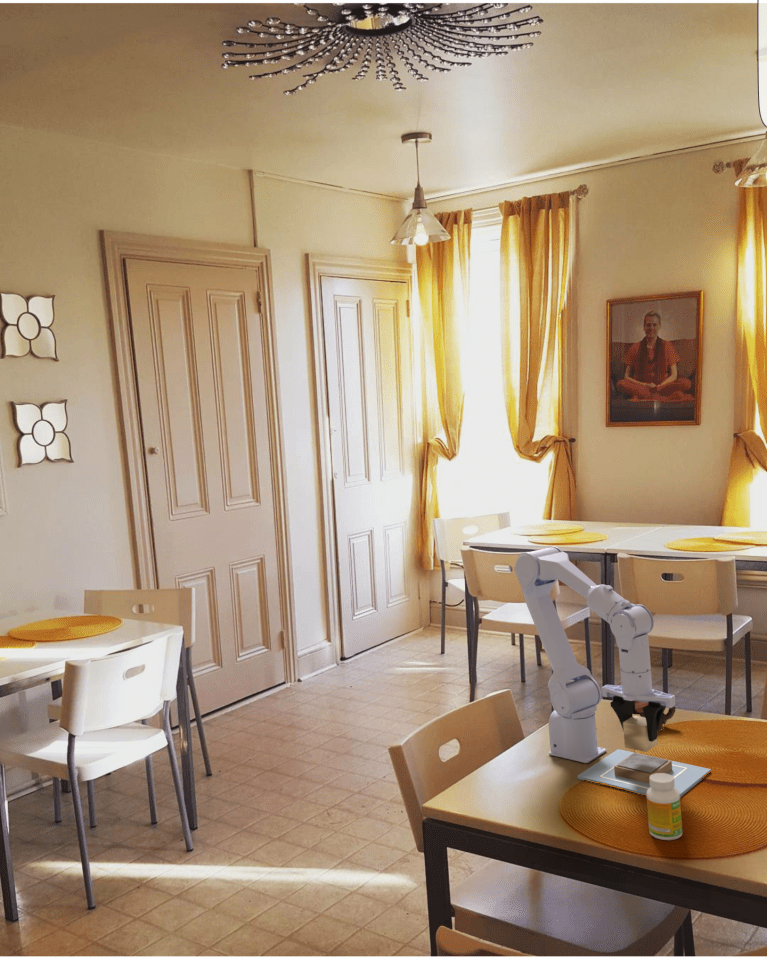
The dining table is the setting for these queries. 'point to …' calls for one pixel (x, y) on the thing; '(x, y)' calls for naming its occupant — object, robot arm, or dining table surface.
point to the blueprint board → (622, 754)
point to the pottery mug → (639, 710)
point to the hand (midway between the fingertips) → (640, 737)
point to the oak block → (637, 734)
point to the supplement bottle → (664, 807)
